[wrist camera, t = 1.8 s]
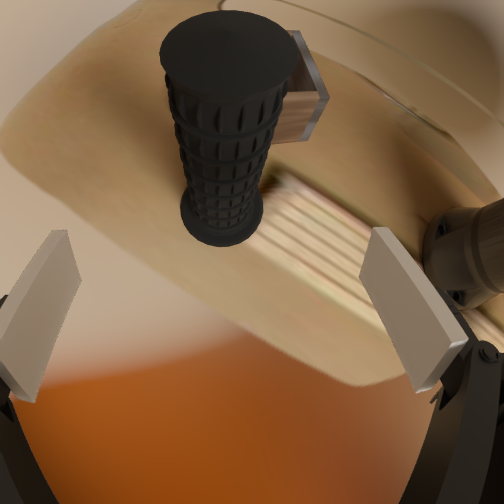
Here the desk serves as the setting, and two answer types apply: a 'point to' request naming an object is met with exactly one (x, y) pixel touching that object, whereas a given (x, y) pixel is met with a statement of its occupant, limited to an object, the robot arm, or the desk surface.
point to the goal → (301, 98)
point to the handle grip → (225, 115)
